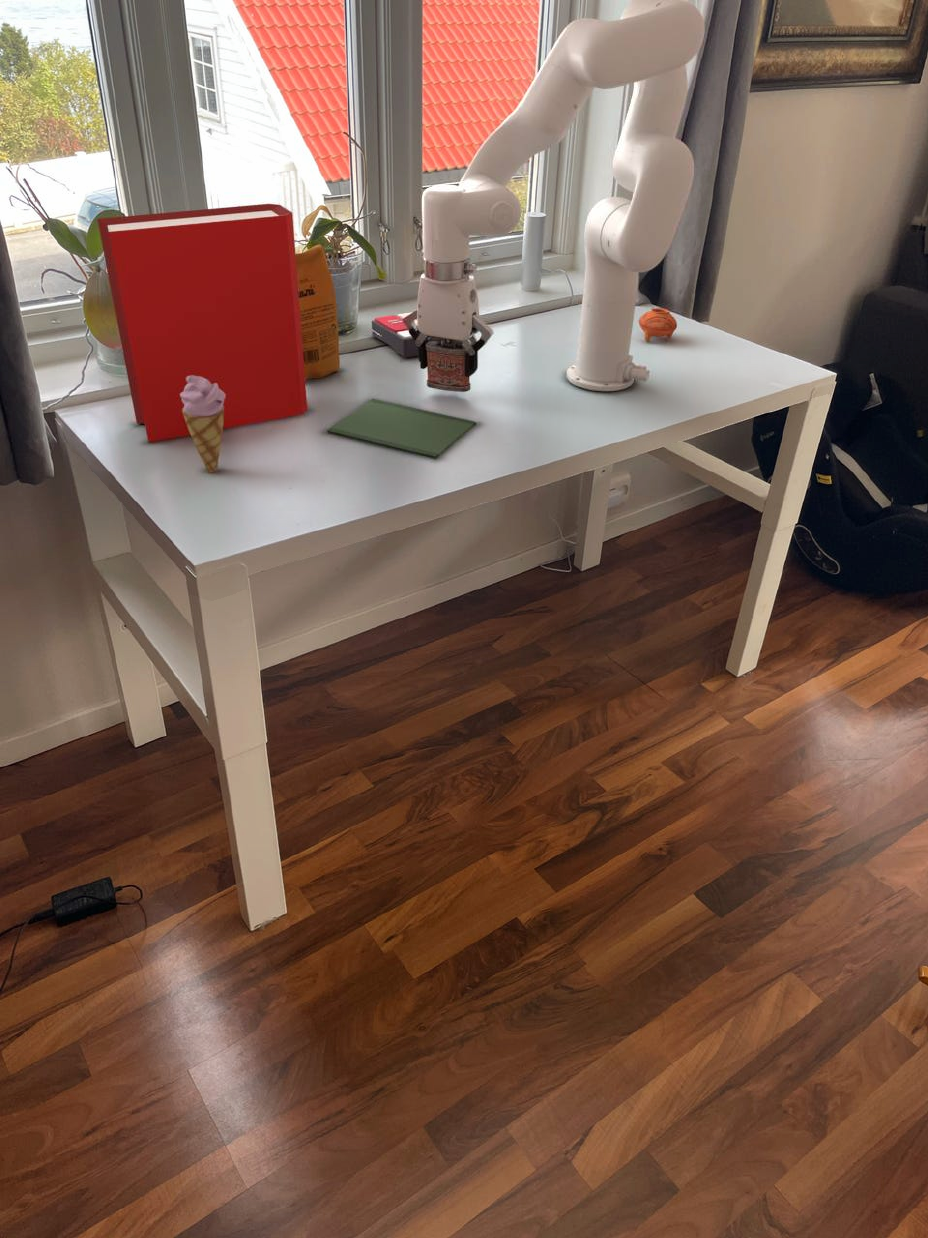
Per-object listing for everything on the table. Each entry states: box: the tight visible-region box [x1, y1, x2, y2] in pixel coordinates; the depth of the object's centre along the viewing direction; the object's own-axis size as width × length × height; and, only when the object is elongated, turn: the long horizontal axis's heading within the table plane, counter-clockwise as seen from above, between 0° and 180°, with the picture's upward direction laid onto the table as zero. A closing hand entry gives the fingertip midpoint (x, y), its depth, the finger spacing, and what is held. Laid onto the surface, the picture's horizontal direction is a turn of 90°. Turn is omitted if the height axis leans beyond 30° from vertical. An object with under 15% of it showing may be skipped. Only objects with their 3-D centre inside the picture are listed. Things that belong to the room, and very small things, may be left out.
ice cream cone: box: [180, 375, 226, 474], centre depth 138 cm, size 7×6×15 cm
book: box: [97, 203, 308, 444], centre depth 148 cm, size 27×8×32 cm, turn 118°
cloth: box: [326, 398, 477, 460], centre depth 156 cm, size 20×15×1 cm
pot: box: [638, 307, 678, 343], centre depth 193 cm, size 8×8×7 cm
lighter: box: [426, 336, 472, 393], centre depth 164 cm, size 8×3×10 cm, turn 71°
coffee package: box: [295, 244, 341, 380], centre depth 169 cm, size 10×12×22 cm
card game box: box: [371, 311, 443, 358], centre depth 188 cm, size 11×4×15 cm
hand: (448, 369), depth 165 cm, fingers closed on lighter, 8 cm apart
